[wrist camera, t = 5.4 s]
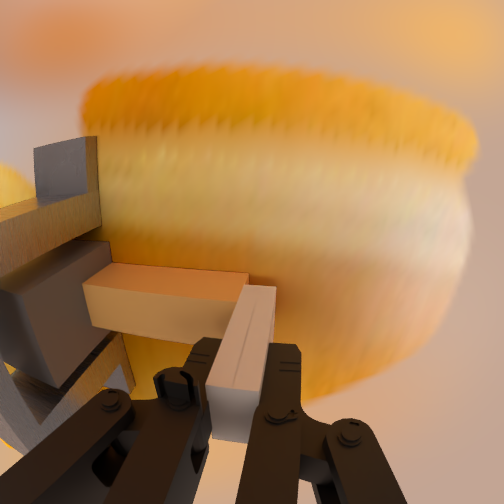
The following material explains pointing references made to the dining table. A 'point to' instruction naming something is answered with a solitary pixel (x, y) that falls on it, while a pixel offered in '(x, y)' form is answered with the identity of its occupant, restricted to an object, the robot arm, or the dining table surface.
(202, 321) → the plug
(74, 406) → the housing
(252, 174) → the dining table surface
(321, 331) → the dining table surface
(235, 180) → the dining table surface
